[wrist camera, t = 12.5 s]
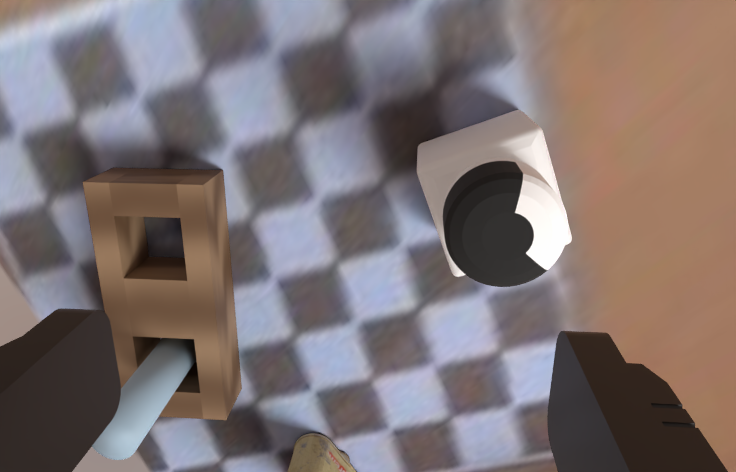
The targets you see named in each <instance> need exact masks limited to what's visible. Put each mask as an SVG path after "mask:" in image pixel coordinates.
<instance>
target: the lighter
mask: <svg viewBox="0 0 736 472" xmlns="http://www.w3.org/2000/svg"><path fill="white" fill-rule="evenodd" d="M349 462H350V460H349V457H348V455H347V454H346V453H344V452H341V451H339V450H338V449H337V448H336V446H335V445H334V444H333V443H332V442H331V440H330V439H328V438H327V437H325V436H323V435H320V434H316V433H310V434H305V435H303V436H301V437H300V438H299V439H298V440H297V441H296V443H295V446H294V452H293V456H292V459H291V462H290V466H289V469H288V472H356V470H355V469H354V468H353V467H352V466H351V464H350V463H349Z"/></svg>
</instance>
